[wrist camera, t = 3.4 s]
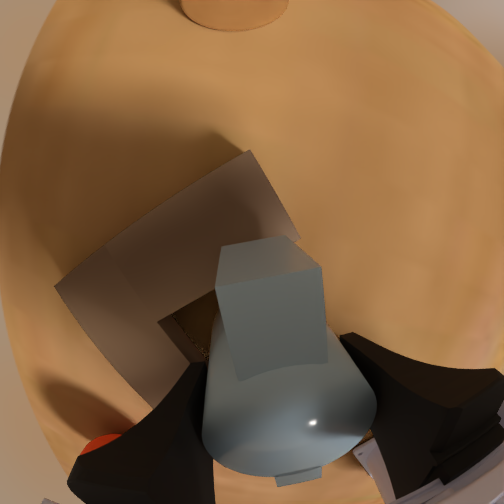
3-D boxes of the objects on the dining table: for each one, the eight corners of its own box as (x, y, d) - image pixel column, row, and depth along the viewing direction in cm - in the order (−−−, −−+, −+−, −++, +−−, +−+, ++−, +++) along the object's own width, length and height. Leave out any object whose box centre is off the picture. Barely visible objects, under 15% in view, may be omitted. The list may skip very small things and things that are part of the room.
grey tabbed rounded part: (322, 373, 15) (365, 463, 8) (228, 392, 15) (230, 492, 8) (308, 220, 13) (386, 255, 6) (189, 242, 13) (144, 301, 6)
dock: (368, 383, 16) (379, 399, 14) (225, 449, 16) (225, 467, 15) (247, 154, 12) (249, 149, 11) (70, 275, 13) (54, 286, 11)
